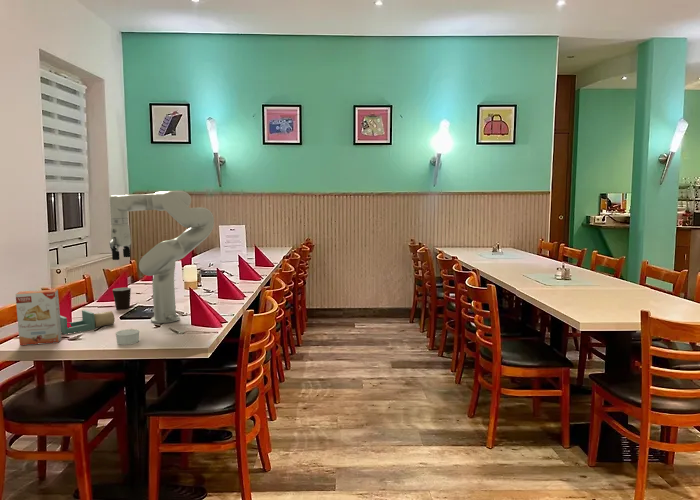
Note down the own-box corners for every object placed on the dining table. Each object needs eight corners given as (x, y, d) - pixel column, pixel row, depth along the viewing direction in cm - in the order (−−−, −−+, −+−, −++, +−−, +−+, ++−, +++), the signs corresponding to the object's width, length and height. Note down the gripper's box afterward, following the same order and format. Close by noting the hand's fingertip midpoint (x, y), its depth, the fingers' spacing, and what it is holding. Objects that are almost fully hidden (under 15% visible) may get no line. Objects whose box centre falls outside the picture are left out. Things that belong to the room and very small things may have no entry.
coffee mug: (127, 310, 276) (126, 290, 275) (110, 310, 276) (109, 290, 275) (137, 305, 287) (135, 286, 286) (120, 305, 288) (119, 286, 287)
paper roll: (109, 323, 250) (108, 310, 250) (115, 325, 246) (114, 311, 246) (91, 326, 245) (90, 313, 244) (96, 328, 240) (95, 315, 240)
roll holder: (95, 328, 240) (93, 313, 239) (65, 334, 231) (63, 318, 230) (85, 325, 247) (84, 309, 246) (56, 330, 238) (54, 315, 237)
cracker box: (19, 346, 215) (14, 293, 212) (23, 342, 221) (19, 291, 218) (58, 342, 219) (54, 291, 216) (62, 339, 225) (58, 288, 222)
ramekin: (143, 339, 223) (142, 328, 222) (135, 345, 214) (134, 334, 213) (121, 339, 222) (120, 329, 222) (112, 346, 214) (111, 335, 213)
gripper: (117, 223, 246) (119, 261, 248) (136, 220, 263) (138, 256, 265) (101, 223, 247) (103, 260, 249) (121, 220, 264) (123, 256, 266)
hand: (121, 258), depth 257 cm, fingers open, 9 cm apart
